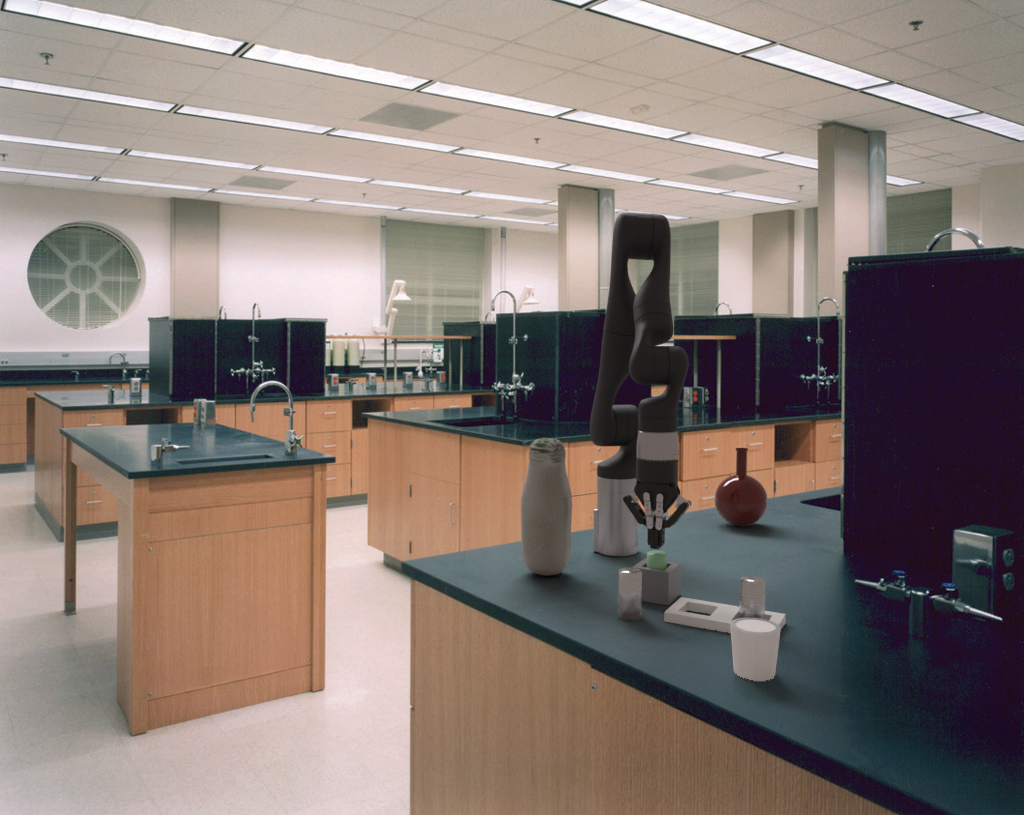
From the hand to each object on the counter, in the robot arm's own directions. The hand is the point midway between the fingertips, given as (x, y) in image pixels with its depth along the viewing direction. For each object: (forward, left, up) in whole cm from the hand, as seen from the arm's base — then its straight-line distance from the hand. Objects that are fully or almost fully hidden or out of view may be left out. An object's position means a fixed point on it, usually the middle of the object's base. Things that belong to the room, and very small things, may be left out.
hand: (656, 548), depth 143 cm
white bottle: (-24, +3, -9) cm, 26 cm away
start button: (0, 0, -7) cm, 7 cm away
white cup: (+24, -25, -9) cm, 36 cm away
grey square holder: (0, 0, -9) cm, 9 cm away
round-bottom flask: (0, +65, -10) cm, 66 cm away
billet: (0, -12, -9) cm, 15 cm away
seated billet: (+19, -7, -9) cm, 22 cm away
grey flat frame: (+15, -7, -9) cm, 19 cm away
